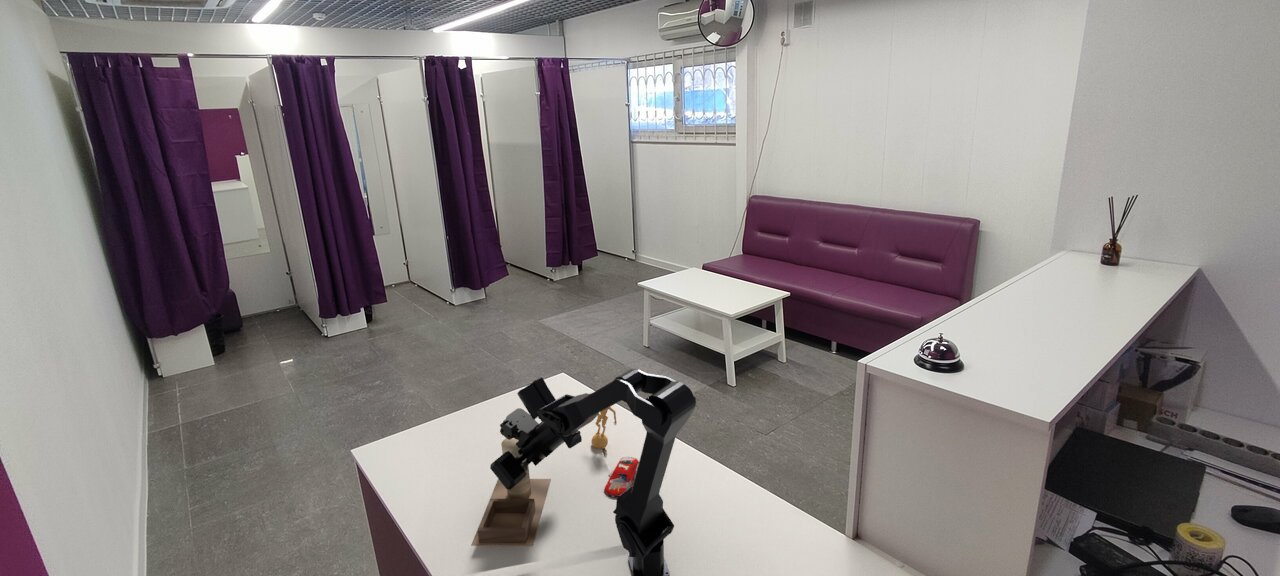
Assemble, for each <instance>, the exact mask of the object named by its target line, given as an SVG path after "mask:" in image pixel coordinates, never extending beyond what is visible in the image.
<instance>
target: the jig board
mask: <svg viewBox="0 0 1280 576" xmlns="http://www.w3.org/2000/svg"><path fill="white" fill-rule="evenodd" d="M551 482H552V478H530V485H531V495H530V496H529V497H528V498H527V499H509V498H508V494H507V489H506V488H505V486H504V485H503V484H502V483H501V481H500V480H499V479H498V478H497V480H496V483H495V486H494V488H493V490H492V493H491V496H490V498H489V499H488V502H487V505H486V508H485V510H484V513H483V515H482V517H481V520H480V523H479V525H478V527H477V530H476V533H475V535H474V536H473V539H472V542H471V545H470V546H504V547H505V546H506V547H507V546H508V547H509V546H510V547H511V546H517V547H518V546H522V547H524V546H525V547H527V546H528V547H529V546H534V543H535V539H536V535H537V532H538V529H539V524H540V521H541V517H542V513H543V510H544V507H545V503H546V500H547V496H548V492H549V488H550V484H551Z"/></svg>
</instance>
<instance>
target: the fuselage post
mask: <svg viewBox="0 0 1280 576" xmlns="http://www.w3.org/2000/svg"><path fill="white" fill-rule="evenodd" d="M518 441H519V440H517V439H515V438H512V439H511V440H508V439H507V438H506V437H505V438H504V439H502V442H501V453H502V455H503V454H504V453H505V452H507V451H509V452H510V453H512V455H513V456H514V457H515V458H516V457H517V456H518V457H519V458H520V457H521V456H522V455H523V454H521V455H519V454H518V452H517V451H518V450H519V449H521V448H518V447H517V445H516V443H517V442H518ZM526 460H527V459H525V460H524V461H526ZM524 461H523V462H524ZM522 465H523V464H522ZM527 467H528V470H527V471H526V473H527V474H526V476H525V477H524V478H523V479H522V480H521V481H520V482H519V483H518V484H516V485H515V486H514V487H513V488H512V489H510V490H509V489H507V494H508V498H509V499H527V498H528V497H529V496H530V495H531V485H530V479H531V477H530V468H529V467H530V466H529V465H528V466H527Z"/></svg>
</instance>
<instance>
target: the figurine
mask: <svg viewBox="0 0 1280 576" xmlns="http://www.w3.org/2000/svg"><path fill="white" fill-rule="evenodd" d="M608 411H610V412H612V413H613V419H614V422H613V424H614V425H613V426H617V414H616V410H615V409H614V408H613V407H612V406H610V407H608V408H607V409H605V410H603V411H601V412H599V414H598V416H597V417H596V418H597V419H596V422H595V425H596V426H597V427H598V428H597V432H596V433H595V434H594V435H593V436H592V438H591V445H592V447H593V448H595V449H598V450H605V448H606V447H607V446H608V442H609V440H608V437H607V435H606V434H605V431H606V428H607V427H606V425H607V421H608V420H609V416H607V413H608ZM600 423H601V424H600ZM601 426H602V432H600V431H601Z"/></svg>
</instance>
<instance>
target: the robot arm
mask: <svg viewBox="0 0 1280 576" xmlns="http://www.w3.org/2000/svg"><path fill="white" fill-rule="evenodd" d="M640 392H642V393H644V394H651V395H650V396H648V397H646V398H643V397H641V396H639V395H638V393H640ZM516 394H517V396H518V397H519V399H520V401H521V403H522V404H523V406H524V408H525V409H526V410H527V411H525V410H524V409H523V408H515V409H514V410H513V411H512V412H510V413H509V414H507V416H506V418H505V419H503V421H502V423H500V424H499V427H500V430H499V433H500V435H502V436H503V437H504V438H505V439H506V438H507V439H508V440H511V439H512V438H515V439H517V440H519V441H518V442H517V443H516V445H517V447H518V448H521V449H519V450H518V451H517V452H518V454H519V455H521V454H523V455H522V456H521V457H520V458H519V457H518V456H517V457H516V458H515V457H514V456H513V455H512V453H510V452H509V451H507V452H505V453H504V454H503V453H502V455H500V456H499V457H497V458H496V459H495V460H494V461H493V462H492V463H490V465H489V466H490V468H489V469H490V470H491V471H492V473H494V475H495V476H496V477H497V480H498V479H499V480H500V481H501V483H502V484H503V485H504V486H505V488H506V489H509V490H510V489H512V488H513V487H514V486H515V485H516V484H518V483H519V482H520V481H521V480H522V479H523V478H524V477H525V476H526V474H527V473H526V471H527V470H528V467H527V466H529V465H530V464H531V463H533V465H534V466H535V467H536V466H537V465H539V463H541V462H542V461H543V460H544V459H546V458H547V457H548V456H549V455H551V454H552V453H553V452H554V451H555V450H557V449H558V448H559V447H561V445H562V444H564V443H565V445H566V447H567V448H568V449H572V448H574V447H575V446H576V445H578V444H580V443H581V442H582V441H583V440H582V439H583V438H582V435H581V431H580V430H581V429H582V428H584V427H585V426H587V425H589V424H590V423H591V422H592V421H594V420H595V419H596V418H598V414H600V412H601V411H603V410H605V409H607V408H608V407H613V406H614V405H616V404H618V403H620V402H621V401H622V402H624V403H626V404H627V406H628V408H629V409H630V411H631V413H632V415H633V416H635V417H636V418H638V419H640V420H641V424H642V425H643V427H644V430H645V431H646V435H645V438H644V441H643V445H642V449H641V454H640V457H639V460H638V461H639V465H638V468H637V472H636V476H635V480H634V484H633V485H632V486H631V487H629V488H628V489H627V490H626V491H624V492H623V493H622V494H621V495H619V496H618V498H617V500H616V505H615V509H614V510H613V514H614V515H615V517H614V521H615V525H616V529H617V533H618V535H619V539H620V542H621V544H622V545H621V546H622V548H623V549H625V550H626V551H627V552H628V555H627V557H628V559H627V560H628V562H629V568H630V569H631V574H632V576H670V574H671V573H670V570H669V568H668V564H667V562H666V559H665V551H664V550H665V549H664V548H665V547H664V546H665V545H664V543H665V542H664V541H665V539H666V538H667V537H668V536H669V535H670V534H673V533H672V532H673V530H674V528H675V524H674V523H673V521H672V520H671V518H670V517H669V515H668V513H667V512H666V511H665V509H664V507H663V506H664V500H663V498H662V496H661V495H660V491H661V488H662V483H663V481H664V478H665V475H666V470H667V467H668V463H669V461H670V456H671V454H672V450H673V448H674V444H675V440H676V437H677V435H678V433H679V432H680V431H681V430H682V428H683V427H684V426H685V424H686V423H687V422H688V420H689V419H690V418H691V416H692V414H693V412H694V410H695V409H696V406H697V401H696V400H697V399H696V397H695V396H694V394H693V391H692V390H691V389H690V388H689V387H688V386H687V385H686V384H685V383H684V382H683V383H682V382H681V381H678V380H675V379H673V378H671V377H669V376H666V375H660V374H659V375H658V374H653V373H647V372H645V371H642V370H641V369H637V368H631V369H628V370H626V371H624V372H623V373H621V374H619V375H618V376H616V377H615V378H614V379H613V381H611V382H609V383H607V384H605V385H604V386H602V387H600V388H599V389H597V390H595V391H593V392H590V393H587V392H586V393H581V394H578V395H571V394H564V395H562V396H561V397H559V398H557V399H556V398H555V396H554V394H553V393H552V391H551V390H550V388H549V387H548V385H547V383H546V382H545V379H544V378H543V377H539V378H537V379H535V380H533V381H532V383H530V384H528V385H526V386H525V387H524V388H521V389H520V390H519V391H518V392H517V393H516ZM536 419H539V420H540V421H541V422H538V421H537V420H536ZM525 459H527V460H526V461H524V460H525ZM523 461H524V462H523ZM522 464H523V465H522Z"/></svg>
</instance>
